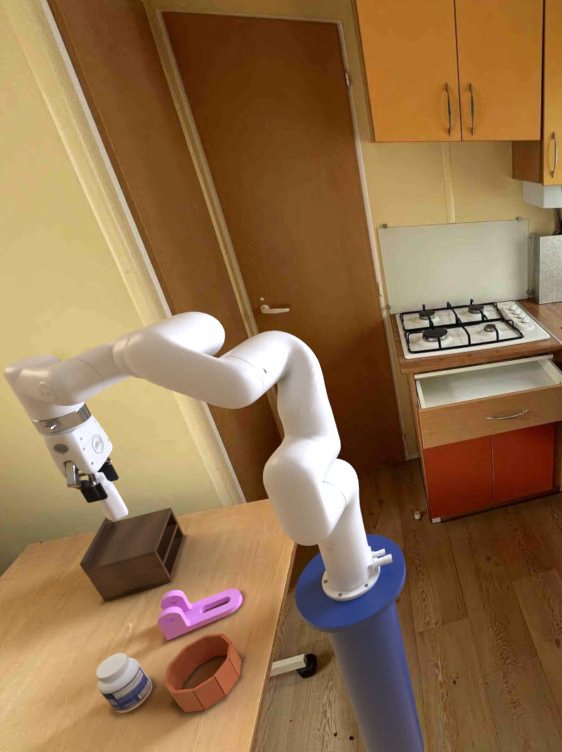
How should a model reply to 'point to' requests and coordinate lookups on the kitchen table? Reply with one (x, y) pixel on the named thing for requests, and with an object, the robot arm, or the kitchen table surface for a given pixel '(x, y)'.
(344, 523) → the robot arm
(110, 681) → the pill bottle
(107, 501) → the eye dropper bottle
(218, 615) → the bracket
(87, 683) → the kitchen table surface
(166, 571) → the shelf
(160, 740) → the kitchen table surface
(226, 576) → the kitchen table surface
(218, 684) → the holder cup
